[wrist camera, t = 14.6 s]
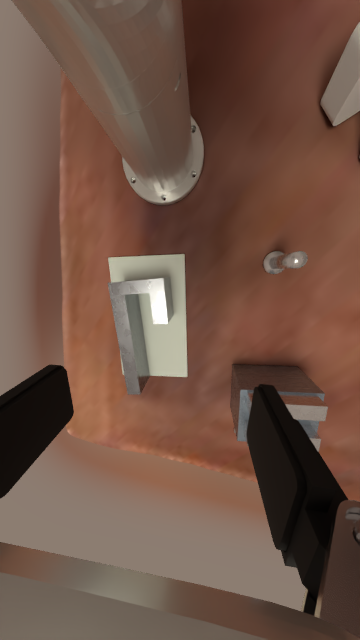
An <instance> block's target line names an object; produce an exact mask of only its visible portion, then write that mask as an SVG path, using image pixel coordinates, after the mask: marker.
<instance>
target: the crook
mask: <svg viewBox="0 0 360 640" xmlns="http://www.w3.org/2000/svg"><path fill="white" fill-rule="evenodd" d="M108 287H109V292H110V298H111V303H112V309H113V315H114V320H115V326H116V331H117V337H118V342H119V348H120V353H121V359H122V364H123V370H124V376H125V381H126V387H127V392H128V394H141V392H142V390H143V388H144V386H145V384H146V383H147V381H148V379H149V377H150V373H149V366H148V359H147V352H146V345H145V338H144V331H143V324H142V316H141V309H140V302H139V295H138V294H141V293H149V294H150V302H151V310H152V318H153V324H168V323H169V321H170V320H171V318H172V317H173V315H174V311H173V300H172V290H171V279H170V277H165V278H154V279H142V280H130V281H120V282H111V283H108Z"/></svg>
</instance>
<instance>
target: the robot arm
mask: <svg viewBox="0 0 360 640" xmlns="http://www.w3.org/2000/svg"><path fill="white" fill-rule="evenodd" d="M12 1H13V3H14V4H15V6H16V7H17V8H18V10H19V11H20V12H21V14H22V15H23V16H24V17H25V19H26V20H27V21H28V23H29V24H30V25H31V26H32V28H33V29H34V31H35V32H36V33H37V35H38V36H39V37H40V39H41V40H42V41H43V43H44V44H45V46H46V47H47V49H48V50H49V51H50V53H51V54H52V55H53V57H54V58H55V60H56V61H57V62H58V64H59V65H60V67H61V68H62V70H63V71H64V72H65V74H66V75H67V77H68V78H69V80H70V81H71V83H72V84H73V85H74V87H75V88H76V90H77V91H78V93H79V94H80V96H81V97H82V99H83V100H84V102H85V103H86V105H87V106H88V107H89V109H90V110H91V112H92V113H93V115H94V116H95V118H96V119H97V120H98V122H99V123H100V125H101V126H102V128H103V129H104V130H105V132H106V133H107V135H108V136H109V138H110V139H111V141H112V142H113V143H114V145H115V146H116V148H117V149H118V151H119V152H120V153H121V155H122V162H123V168H124V172H125V175H126V178H127V180H128V182H129V184H130V185H131V187H132V188H133V189H134V191H135V192H136V193H137V194H138V195H139V196H140V197H141V198H143V199H144V200H145V201H147V202H149V203H152V204H156V205H170V204H174V203H176V202H178V201H180V200H182V199H183V198H184V197H186V196H187V195H188V194H189V193H190V192H191V191H192V189H193V188H194V186H195V185H196V183H197V182H198V179H199V177H200V174H201V171H202V167H203V160H204V145H203V139H202V135H201V132H200V129H199V127H198V125H197V123H196V122H195V120H194V119H193V117H192V116H191V115H190V103H189V90H188V78H187V65H186V52H185V39H184V26H183V12H182V0H12ZM193 132H195V133H193ZM193 176H195V177H194V178H193ZM135 181H136V182H135ZM134 182H135V183H134ZM164 198H166V200H165V201H164ZM73 413H74V410H73V404H72V399H71V393H70V387H69V382H68V376H67V371H66V369H64V367H63V366H61V365H48V366H46V367H45V368H43V369H42V370H40V371H39V372H37V373H36V374H34V375H32V376H31V377H29V378H28V379H26V380H25V381H23V382H21V383H20V384H18V385H17V386H15V387H14V388H12V389H11V390H9V391H7V392H6V393H4V394H3V395H1V396H0V498H2V497H3V496H5V495H6V494H7V493H8V492H9V491H10V489H11V488H12V487H13V486H14V485H15V483H16V482H17V481H18V480H19V479H20V478H21V477H22V475H23V474H24V473H25V472H26V471H27V470H28V468H29V467H30V466H31V465H32V464H33V463H34V461H35V460H36V459H37V458H38V457H39V456H40V454H41V453H42V452H43V451H44V450H45V449H46V447H47V446H48V445H49V444H50V443H51V441H53V439H54V438H55V437H56V436H57V435H58V434H59V432H60V431H61V430H62V429H63V428H64V426H65V425H66V424H67V423H68V422H69V421H70V420H71V418H72V416H73ZM246 436H247V442H248V446H249V450H250V454H251V458H252V462H253V465H254V469H255V473H256V477H257V481H258V485H259V488H260V492H261V496H262V500H263V503H264V508H265V511H266V515H267V519H268V523H269V527H270V530H271V535H272V538H273V542H274V545H275V547H276V549H278V550H281V552H282V556H283V559H284V563H285V566H291V567H296V568H297V569H298V572H299V575H300V578H301V581H302V584H303V585H304V586H305V587H306V591H305V595H304V599H303V603H302V608H301V611H298V610H295V609H291V608H288V607H285V606H282V605H279V604H275V603H272V602H268V601H264V600H260V599H256V598H252V597H248V596H244V595H240V594H236V593H232V592H227V591H223V590H219V589H215V588H211V587H207V586H203V585H198V584H194V583H189V582H185V581H180V580H175V579H171V578H166V577H162V576H157V575H153V574H148V573H143V572H139V571H134V570H130V569H124V568H120V567H116V566H111V565H106V564H102V563H96V562H92V561H88V560H83V559H78V558H73V557H69V556H64V555H59V554H55V553H49V552H45V551H40V550H35V549H31V548H26V547H21V546H16V545H12V544H7V543H2V542H0V640H360V502H358V501H355V500H348V498H347V497H346V495H345V494H344V492H343V490H342V489H341V487H340V486H339V484H338V483H337V481H336V479H335V478H334V476H333V475H332V473H331V471H330V470H329V468H328V467H327V465H326V463H325V462H324V460H323V459H322V457H321V456H320V454H319V452H318V451H317V449H316V448H315V446H314V444H313V443H312V441H311V440H310V438H309V436H308V435H307V433H306V432H305V430H304V428H303V427H302V425H301V424H300V423H299V421H298V420H296V419H294V418H293V417H292V415H291V413H290V412H289V410H288V408H287V407H286V405H285V403H284V402H283V400H282V398H281V397H280V395H279V393H278V392H277V390H276V388H275V387H274V386H273V385H267V384H259V385H258V387H255V388H254V391H253V397H252V403H251V409H250V415H249V420H248V426H247V433H246Z"/></svg>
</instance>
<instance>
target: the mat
mask: <svg viewBox="0 0 360 640" xmlns="http://www.w3.org/2000/svg"><path fill="white" fill-rule="evenodd" d="M108 260H109V268H110V276H111V282H120V281H130V280H142V279H154V278H165V277H170V279H171V290H172V300H173V311H174V315H173V317H172V318H171V320H170V321H169V323H168V324H153V318H152V310H151V302H150V294H149V293H141V294H138V295H139V302H140V309H141V316H142V324H143V331H144V338H145V345H146V352H147V359H148V366H149V373H150V375H151V376H175V377H187V376H188V375H187V332H186V290H185V254H175V255H153V256H131V257H109V258H108ZM120 355H121V353H120ZM121 363H122V359H121ZM122 371H123V374H124V370H123V364H122Z"/></svg>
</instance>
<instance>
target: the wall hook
mask: <svg viewBox="0 0 360 640" xmlns="http://www.w3.org/2000/svg"><path fill="white" fill-rule="evenodd" d="M320 104H321V106H322V108H323V110H324V111H325V113H326V115H327V116H328V118H329V120H330V121H331V123H332V125H333V126H336V125H338V124H340V123H342V122H343V121H345V120H346V119H348V118H349V117H351V116H353V115H354V114H356V113H357V112H359V111H360V22H359V24H358V25H357V26H356V28H355V30H354V31H353V33H352V35H351V37H350V39H349V41H348V43H347V45H346V47H345V50H344V52H343V54H342V56H341V58H340V60H339V62H338V65H337V67H336V69H335V71H334V73H333V75H332V78H331V80H330V82H329V84H328V86H327V88H326V90H325V93H324V95H323V97H322V99H321V103H320ZM359 158H360V156H359Z"/></svg>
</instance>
